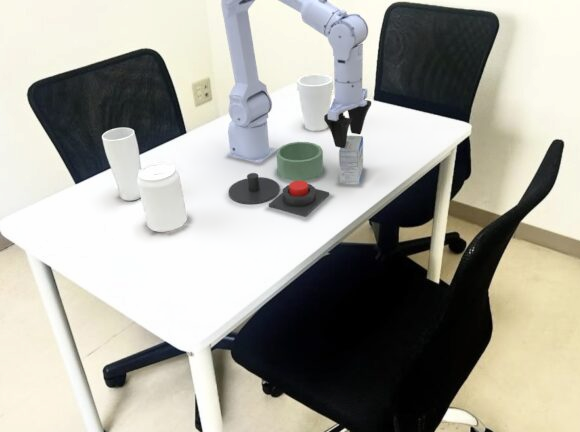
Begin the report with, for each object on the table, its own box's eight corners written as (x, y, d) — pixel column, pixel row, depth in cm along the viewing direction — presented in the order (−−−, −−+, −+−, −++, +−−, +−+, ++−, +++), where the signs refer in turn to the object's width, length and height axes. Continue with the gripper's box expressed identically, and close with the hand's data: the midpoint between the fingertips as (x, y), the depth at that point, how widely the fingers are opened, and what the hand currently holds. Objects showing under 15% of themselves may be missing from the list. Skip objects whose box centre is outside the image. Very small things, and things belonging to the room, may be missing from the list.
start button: (285, 194, 116) (285, 187, 115) (295, 186, 119) (295, 178, 118) (302, 198, 115) (301, 191, 114) (311, 190, 117) (311, 182, 116)
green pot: (269, 177, 129) (267, 156, 126) (293, 159, 136) (292, 138, 133) (308, 186, 124) (307, 165, 121) (330, 167, 131) (330, 146, 128)
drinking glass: (138, 185, 128) (124, 124, 120) (154, 195, 124) (140, 132, 116) (111, 196, 124) (95, 134, 116) (127, 206, 120) (111, 143, 112)
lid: (218, 199, 121) (216, 181, 119) (248, 177, 129) (246, 159, 127) (261, 211, 116) (259, 192, 114) (289, 187, 124) (288, 169, 122)
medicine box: (359, 186, 123) (359, 150, 118) (339, 185, 124) (338, 149, 119) (363, 169, 130) (363, 135, 125) (344, 168, 130) (343, 134, 126)
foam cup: (302, 119, 157) (300, 74, 150) (334, 119, 156) (334, 74, 149) (297, 133, 149) (294, 86, 142) (331, 133, 148) (330, 86, 141)
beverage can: (144, 218, 116) (132, 167, 109) (182, 209, 118) (173, 158, 112) (151, 238, 109) (139, 184, 103) (192, 227, 112) (182, 175, 105)
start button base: (268, 209, 117) (267, 196, 115) (293, 187, 124) (293, 176, 122) (305, 219, 113) (305, 206, 111) (329, 197, 120) (329, 184, 118)
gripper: (349, 92, 107) (349, 156, 114) (380, 70, 117) (379, 130, 124) (317, 87, 110) (319, 150, 117) (350, 66, 120) (350, 125, 127)
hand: (348, 139), depth 121 cm, fingers open, 7 cm apart
